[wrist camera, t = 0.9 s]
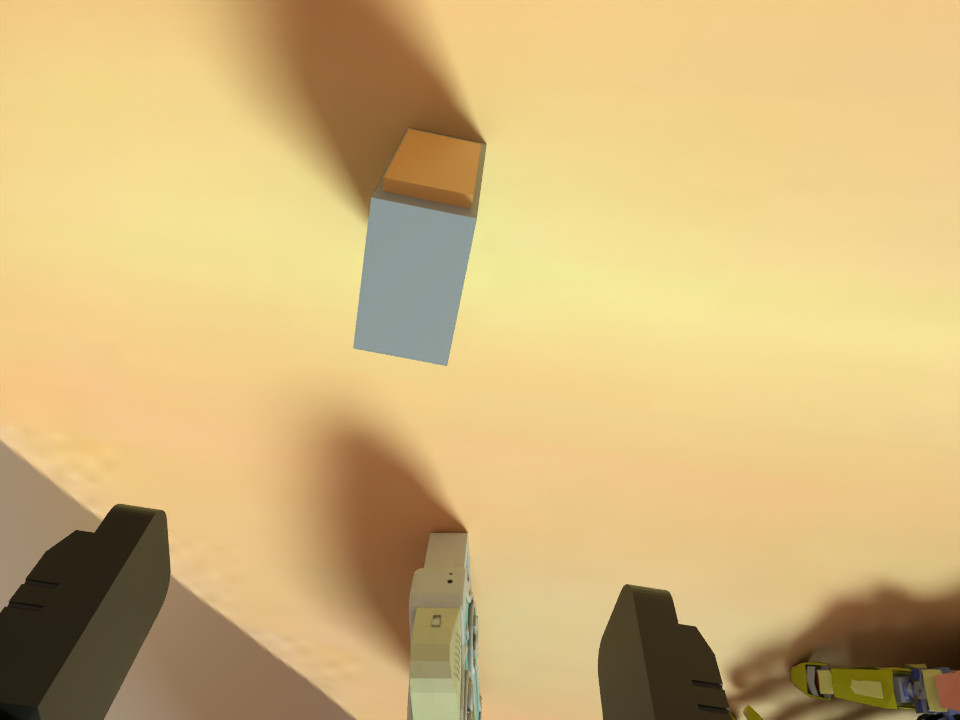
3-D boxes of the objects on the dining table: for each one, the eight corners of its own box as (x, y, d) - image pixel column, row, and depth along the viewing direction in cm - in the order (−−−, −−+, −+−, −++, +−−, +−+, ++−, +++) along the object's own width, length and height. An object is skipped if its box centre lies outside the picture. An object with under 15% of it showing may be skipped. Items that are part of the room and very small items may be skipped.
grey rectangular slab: (477, 502, 39) (486, 702, 45) (425, 502, 39) (441, 701, 45) (463, 661, 29) (477, 893, 35) (394, 661, 29) (420, 892, 35)
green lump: (1211, 707, 40) (792, 868, 43) (1097, 596, 46) (733, 744, 48) (1271, 608, 33) (760, 811, 35) (1127, 490, 39) (696, 672, 41)
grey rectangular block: (409, 116, 27) (372, 183, 20) (488, 133, 27) (479, 204, 20) (390, 249, 29) (353, 348, 23) (462, 263, 30) (446, 365, 23)
